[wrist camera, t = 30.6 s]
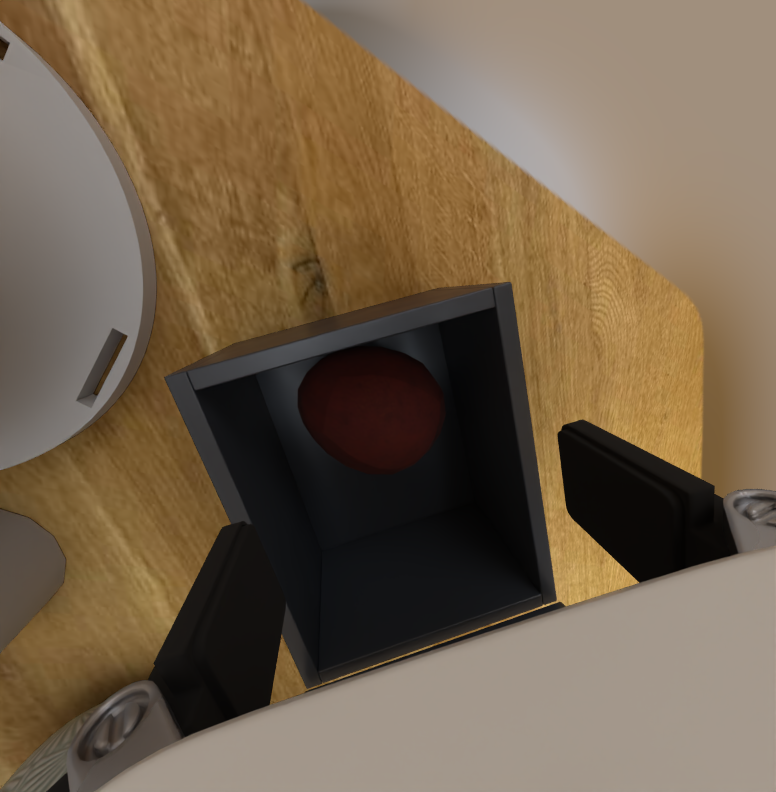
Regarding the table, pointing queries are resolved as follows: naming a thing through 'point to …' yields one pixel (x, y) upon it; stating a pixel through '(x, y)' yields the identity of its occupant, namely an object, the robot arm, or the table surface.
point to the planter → (46, 760)
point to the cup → (25, 572)
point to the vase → (63, 261)
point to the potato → (372, 408)
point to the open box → (382, 482)
